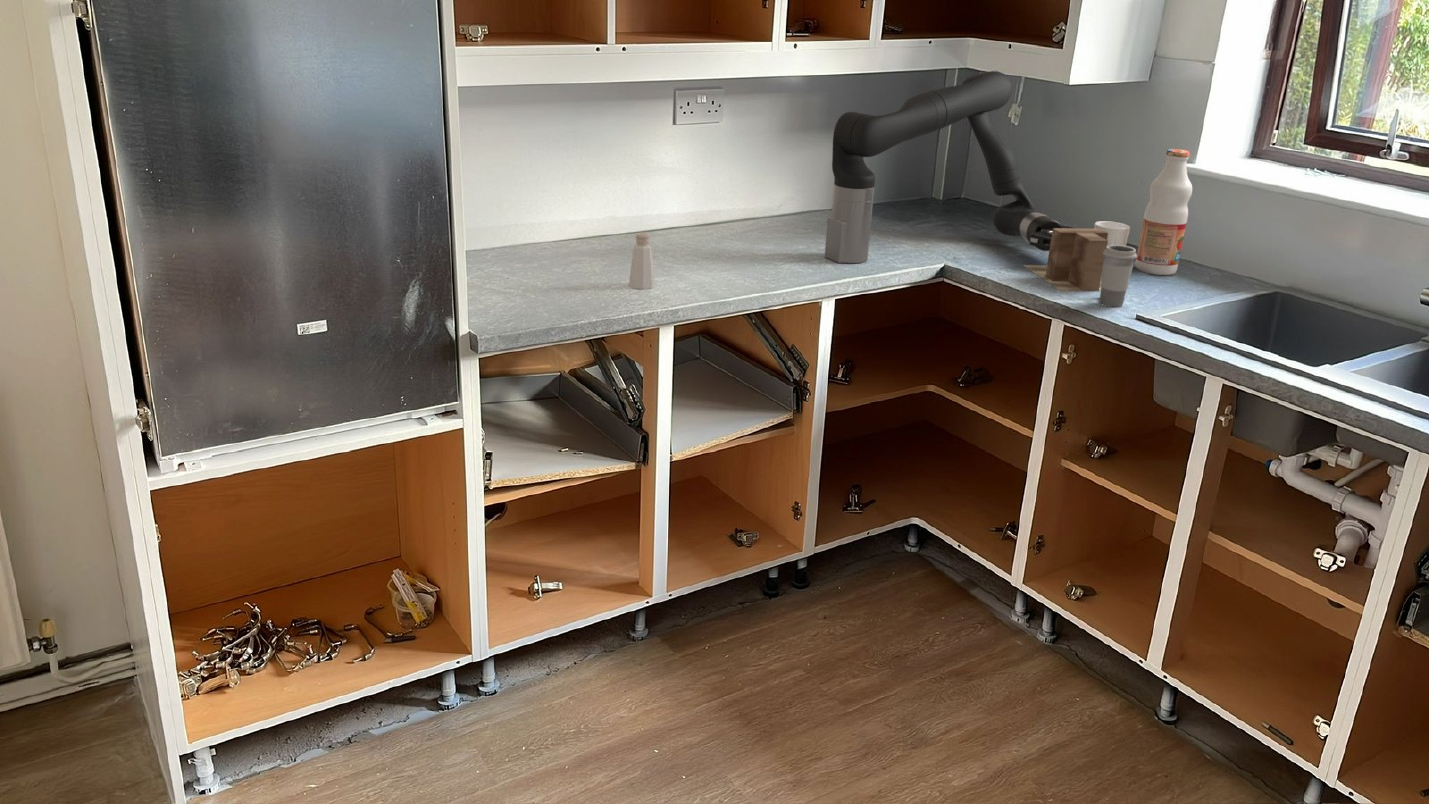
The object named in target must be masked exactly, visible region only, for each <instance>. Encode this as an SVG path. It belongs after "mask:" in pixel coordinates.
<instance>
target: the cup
mask: <svg viewBox="0 0 1429 804" xmlns="http://www.w3.org/2000/svg"><path fill="white" fill-rule="evenodd" d="M1103 254H1104V255H1105V260H1104V262H1103V271H1102V277H1101V291H1100V294H1099V304H1100V303H1101V304H1100V305H1102V304H1103V305H1102V306H1104V305H1106V306H1105V307H1109V306H1111V307H1110V308H1121V307H1122V306H1123V304H1124V300H1125V296H1126V292H1127V291H1128V287H1129V284H1130V280H1131V277H1132V276H1131V275H1132V271H1133V267H1134V262H1135V261H1134V260H1135V259H1136V258H1137V250H1136V248H1134V247H1132V246H1128V245H1126V246H1124V245H1108V246H1107V247H1106V249H1105V250H1104V252H1103Z"/></svg>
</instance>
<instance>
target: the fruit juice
mask: <svg viewBox="0 0 1429 804" xmlns="http://www.w3.org/2000/svg"><path fill="white" fill-rule="evenodd" d="M1190 155H1191V152H1190V151H1189V150H1186V149H1179V148H1177V149H1176V148H1169V149H1168V150H1166V155H1165V157H1166V161H1165V163H1164V166H1163V168H1162V169H1161V171H1160V173H1158V175H1157V176H1156V177H1155V178H1154V179H1153V181H1152V182H1151V184H1150V187H1149V202H1148V203H1147V205H1146V206H1145V210H1144V215H1143V219H1142V224H1141V230H1140V234H1139V235H1140V236H1139V240H1138V246H1137V250H1136V254H1137V258H1135V261H1134V264H1135V265H1134V268H1135V269H1136V270H1139V271H1141V272H1142V273H1146V274H1149V275H1158V276H1171V275H1175V274H1176V272H1177V270H1178V267H1179V261H1180V258H1181V257H1180V256H1181V253H1182V248H1183V242H1184V237H1185V233H1186V232H1185V231H1186V228H1187V223H1188V217H1189V207H1188V204H1189V202H1190V199H1191V197H1192V195H1193V185H1192V183H1191V181H1190V178H1189V176H1188V168H1187V167H1188V166H1187V164H1188V163H1187V162H1188V160H1189V158H1190Z"/></svg>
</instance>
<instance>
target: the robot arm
mask: <svg viewBox="0 0 1429 804" xmlns="http://www.w3.org/2000/svg"><path fill="white" fill-rule="evenodd" d="M1012 93H1013V84H1012V81H1011V79H1010V78H1009V77H1008V76H1007V75H1006V74H1005V73H1003V72H1001V71H998V70H997V71H996V70H991V71H986V72H982V73H978V74H974V75H971V76H968V77H966V78H965V79H964V80H963V81H962V83H961V84H958V85H951V86H946V87H940V88H936V89H933V90H928V91H925V92H921V93H919V94H916V95H913V96H912V97H910V98H908V99H907V100H906V101H905V102H903V104H902V105H901V107H900V109H899V110H897V111H894V112H889V113H886V114H881V115H871V114H867V113H862V112H857V111H847V112H845V113H842V114H841V115H840V117H839V118H837V121H836V123H835V126H834V130H833V135H832V136H833V137H832V159H831V161H832V162H831V170H832V174H833V177H834V178H833V180H834V183H833V193H832V195H833V196H832V207H831V216H827V223H826V234H825V235H826V236H825V248H824V249H825V250H824V258H825V257H826V258H827V259H828V260H831V261H834V262H836V263H839V264H840V263H845V264H846V263H848V264H859V263H865V262H867V261H868V257H869V249H870V248H869V247H870V237H871V225H872V216H873V215H872V214H873V205H874V197H875V195H874V194H875V185H876V174H875V173H874V172H873V171H872V170H871V169H870V168H869V167H868V166H867V165H866V163H865V160H864V158H871V157H875V156H878V155H880V154H882V153H883V152H886V151H888V150H889V149H892V148H893V147H895V146H897V145H899V144H902V143H904V142H907V141H910V140H912V139H916V138H919V137H922V136H925V135H929V134H931V133H934V132H936V131H940V130H943V129H944V128H946V127H948V126H950V125H953V124H956V123H958V122H961V121H962V120H964V119H966V118H967V120H968V122H969V125H970V127H971V129H972V131H973V134H974V136H975V139H976V142H977V143H978V144H979V147H980V150H981V151H982V154H983V158H984V161H985V164H986V167H987V171H988V175H989V180H990V183H991V186H992V191H993V194H994V195H996V196H999V197H1004V196H1011V195H1012V196H1013V197H1014V198H1015V200H1014V201H1012V202H1007V203H1006V204H1003V205H1000V206H998V207H997V208H995V210H994V212H993V214H992V223H993V225H994V227H995V229H996V230H997V231H998V232H1000V233H1001V234H1003V235H1004V236H1005V235H1006V236H1012V237H1021V238H1022V239H1024V240H1025V241H1026V242H1027V243H1029V245H1030V246H1032V247H1033V246H1034V247H1035V248H1036V249H1038V250H1040V251H1042V252H1043V251H1044V252H1049V250H1050V244H1051V238H1052V232H1053V228H1064V227H1063V226H1062V224H1061V222H1059V221H1057V220H1056V219H1055V218H1052V217H1050V216H1048V215H1047V214H1043V213H1040V212H1038V211H1037V209H1036V206H1035V205H1034V203H1033V201H1032V200H1031V198H1030V196H1029V195H1028V193H1027V191H1026V189H1025V187H1024V184H1023V183H1022V180H1021V175H1020V172H1019V168H1018V163H1017V161H1016V157H1015V155H1014V153H1013V151H1012V150H1011V148H1010V147H1009V146H1008V144H1007V143H1006V142H1005V140H1004V139H1003V138H1002V137H1001V136H1000V134H999V133H998V131H997V130H996V128H995V127H994V125H993V122H992V120H991V116H990V113H989V112H992V111H997V110H1000V109H1001V108H1003V107H1005V105H1006V104H1008V102H1009V101H1010V99H1011V97H1012Z"/></svg>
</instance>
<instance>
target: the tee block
mask: <svg viewBox="0 0 1429 804" xmlns="http://www.w3.org/2000/svg"><path fill="white" fill-rule="evenodd" d="M1107 237H1108V233H1107V232H1105V231H1103V230H1101V229H1094V228H1070V227H1069V228H1066V227H1065V228H1064V227H1063V228H1053V232H1052V238H1051V244H1050V250H1049V251H1048V256H1047V263H1046V265H1047V269H1046V276H1045V277H1047V278H1048V279H1050V280H1051V281H1068V282H1069V283H1071V284H1073V285H1074V286H1076V287H1077V288H1079V289H1080V290H1099V288H1100V282H1101V279H1102V271H1103V262H1104V260H1105V255H1104V254H1103V252H1104V250H1105V249H1106V247H1107V243H1108V240H1107Z"/></svg>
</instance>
